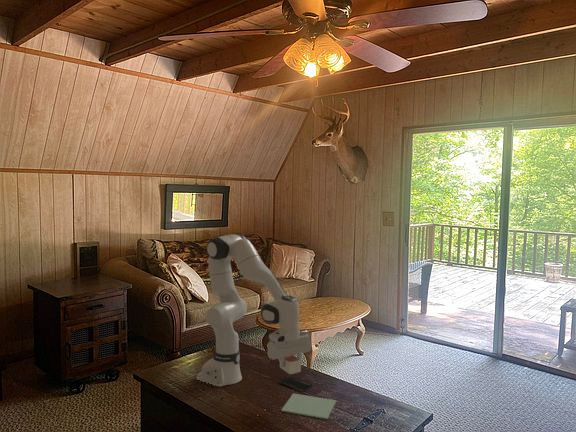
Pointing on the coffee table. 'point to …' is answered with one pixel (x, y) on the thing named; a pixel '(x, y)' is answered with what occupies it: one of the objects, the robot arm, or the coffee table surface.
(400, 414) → the coffee table surface
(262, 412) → the coffee table surface
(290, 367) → the card case
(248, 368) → the coffee table surface
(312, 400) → the mat
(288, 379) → the phone
